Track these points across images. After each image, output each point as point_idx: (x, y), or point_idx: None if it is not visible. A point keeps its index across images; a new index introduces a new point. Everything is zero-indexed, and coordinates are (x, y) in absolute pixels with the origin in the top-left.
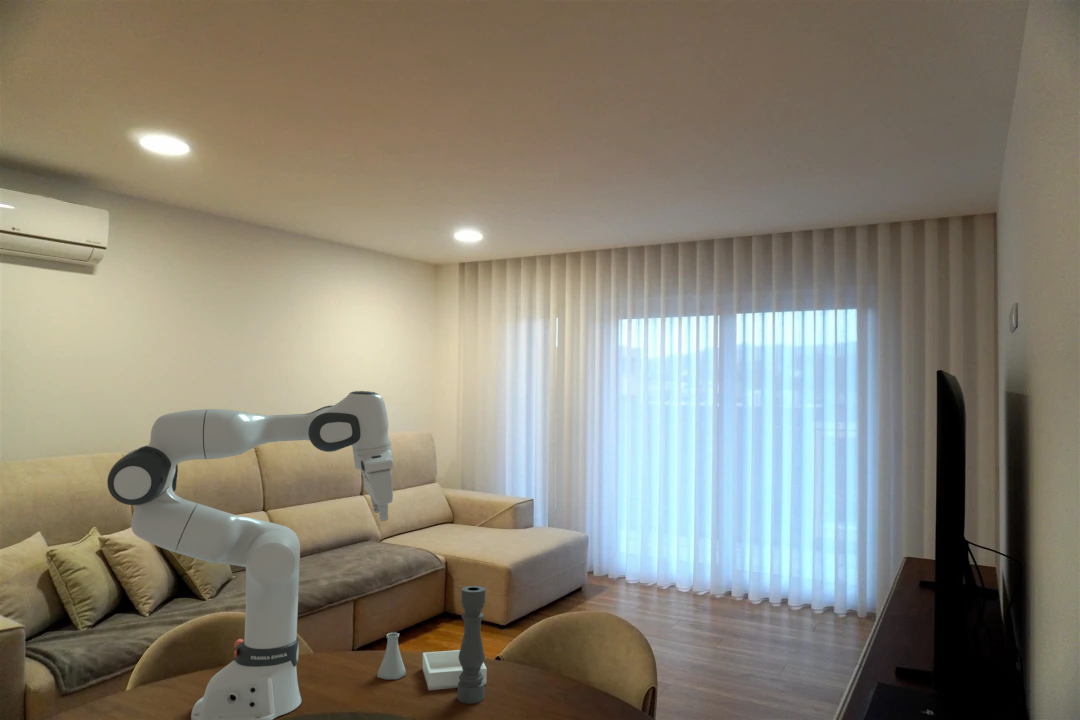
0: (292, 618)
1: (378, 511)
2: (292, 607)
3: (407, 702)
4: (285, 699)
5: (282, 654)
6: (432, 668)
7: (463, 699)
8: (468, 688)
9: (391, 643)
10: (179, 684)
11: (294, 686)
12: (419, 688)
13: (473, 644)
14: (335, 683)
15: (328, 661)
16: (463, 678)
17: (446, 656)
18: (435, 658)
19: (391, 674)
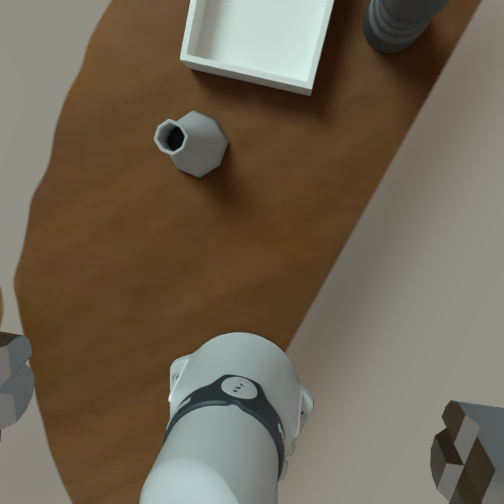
0: (258, 466)
1: (18, 366)
2: (260, 493)
3: (346, 157)
4: (287, 378)
5: (283, 437)
6: (210, 49)
7: (409, 45)
8: (425, 28)
9: (187, 145)
10: (93, 484)
11: (267, 366)
12: (291, 111)
13: None
14: (193, 259)
15: (75, 243)
16: (413, 29)
17: (199, 2)
18: (195, 32)
19: (220, 152)
